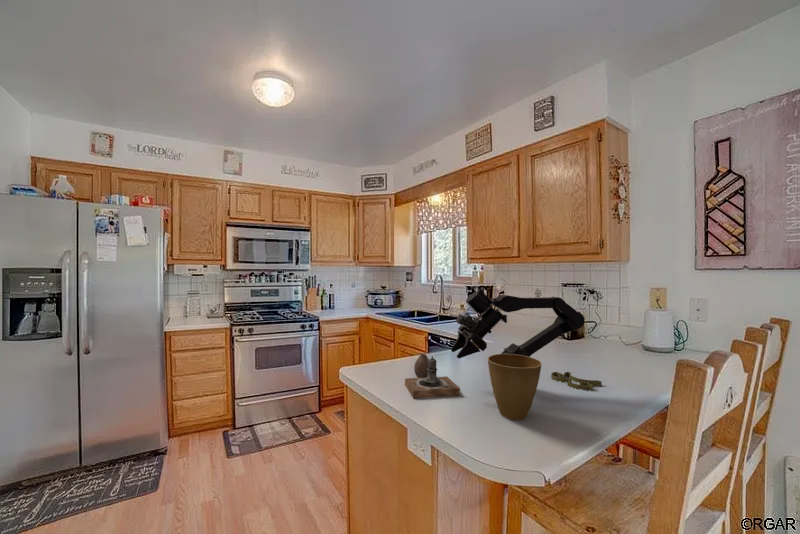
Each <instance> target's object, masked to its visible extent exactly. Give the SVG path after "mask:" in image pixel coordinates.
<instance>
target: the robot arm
mask: <svg viewBox="0 0 800 534" xmlns="http://www.w3.org/2000/svg"><path fill="white" fill-rule="evenodd" d="M465 302H466V304H467V305H469V306H470V307H471V308H472V310H473V311H474V312H475V313H477V314H481V315H480V316H479V317H478V318H477V317H476V318H474V319H473V316H471V315H468V314H466V315H463V314H461V313H458V315H457V317H456V320H455V322H456V323H457V324H458V325H460V326H459V327H458V328H457V338H456V340H455V342H454V343H453V346H452V347H451V349H450V350H451V352H452V353H454V352H456V351H458V353H457V355H456V358H457V359H462V358H464V357H467V356H470V355H473V354H475V353H481V352H484V351H485V350H486V349H487V348H488V343H487V342H486V341H485V340H484V339H483V338H484V337H485V336H486V335H488V334H491V333H492V330H493V328H494V327H496V325H497V324H498V323H500V322H502V323H505V324H507V323H508V314H503V313H504V312H505V313H513V312H518V311H520V310H524V309H552V311H553V312H554V314H555V315H556V316H557V317H556V318H555V319H554V321H553V323H552V324H550V325H549V326H547V327H546V328H545V329H543V330H542V331H540V332H538V333H537V334H536V335H534V336H532V337H531V338H529V339H528V340H526V341H525V342H523V343H522V344H520V345H517V344H516V343H511V344H509V346H507V347H505V348H503V351H502V352H501V353H500V354H517V355H523V356H528V357H532V355H534V354H535V353H536V352H538V351H539V350H541V349H543V348H544V347H546V346H548V344H551V342H553V341H554V340H557V339H558V338H560V337H561V336H562V335H565V334H568V333H571V332H575V331H577V330H579V329H581V328H583V327H584V326H585V323H586V321H585V319H586V318H585V316H584V315H583V314H582V313H581V312H578V311H577V310H576V309H575V308H574V307H572V306H571V305H569V304H568V303H567V302H566V301H565V300H564V299H563V298H561V297H558V296H551V297H550V296H549V297H547V296H545V297H542V296H541V297H520V296H513V295H508V294H499V295H498V296H497V297H495V298H489V296H487V295H486V293H485V292H484V291H483V290H482V289H481V288H479V289H478V290H477V291H474V292H473V293H472V294H469V296H468V297H467V299H466V300H465ZM494 307H496V309H495V308H494ZM501 311H502V312H503V313H502V312H501Z"/></svg>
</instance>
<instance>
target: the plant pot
mask: <svg viewBox="0 0 800 534" xmlns="http://www.w3.org/2000/svg"><path fill="white" fill-rule="evenodd" d="M487 363H488V373H489V376H490V384H491V388H492V391H493V392H492V393H493V396H494V399H495V401H496V405H497V408H498V411H499V413H500V415H501V416H502V417H504V418H506V419H510V420H512V421H513V420H514V421H515V420H516V421H519V420H520V421H521V420H525V419H526V418H527V416H528V414H529V412H530V409H531V407H532V405H533V402H534V399H535V396H536V392H537V389H538V385H539V380H540V375H541V371H542V364H543V363H542V362H541V361H540V360H539V359H537V358H534V357H532V356H530V357H528V356H523V355H517V354H501V353H496V354H492V355H491V354H490V355H489V356H488V357H487Z"/></svg>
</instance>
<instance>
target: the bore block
mask: <svg viewBox="0 0 800 534" xmlns="http://www.w3.org/2000/svg"><path fill="white" fill-rule="evenodd" d="M425 378H427V377H425ZM425 378H418V377H407V378H404V386H405V388H406V389H408V390H407V391H408V393H409V394H410V396H411V398H412V399H427V398H429V397H430V398H442V397H446V398H447V397H460V396H461V388H460V386H458V384H456V382H454V381H453V380H452V379H451V378H449V376H437V378H438V379H440V380H441V381H440V384H439V386H438V387H426V386H425V383H424V379H425Z"/></svg>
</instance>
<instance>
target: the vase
mask: <svg viewBox="0 0 800 534" xmlns="http://www.w3.org/2000/svg"><path fill="white" fill-rule="evenodd" d="M429 359H430V358H428V355H427V354H425V353H421V354H420V355H419V356H418V358H417V359H416V360H415V363H414V365H413V370H414V371H413V372H414V374H415V376H416V378H418V377H419V378H425V377H427V376H428V370H427V368H428V360H429Z"/></svg>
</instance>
